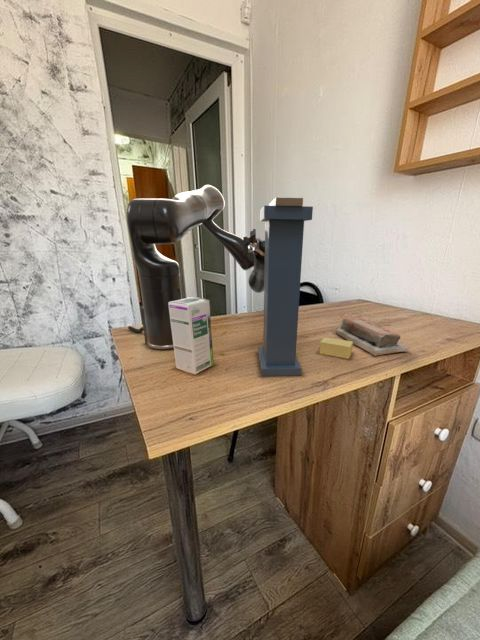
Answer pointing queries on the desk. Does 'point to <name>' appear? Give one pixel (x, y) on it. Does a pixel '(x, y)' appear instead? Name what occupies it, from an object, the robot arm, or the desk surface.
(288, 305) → the square pillar stand
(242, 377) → the desk surface
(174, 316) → the syrup box
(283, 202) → the brown and white slab
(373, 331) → the plastering float
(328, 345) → the butter block
